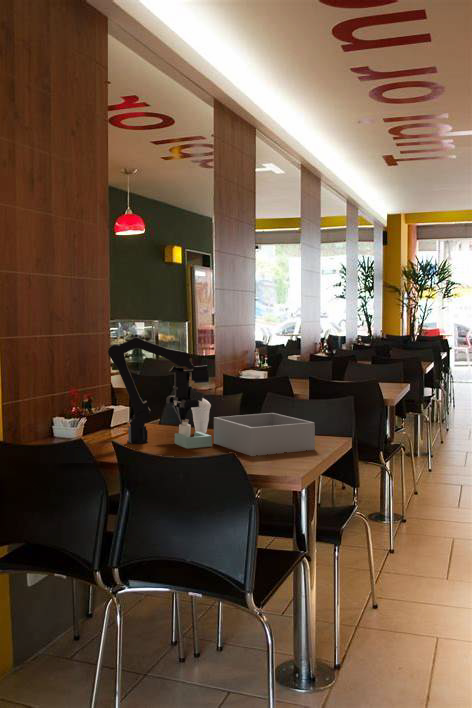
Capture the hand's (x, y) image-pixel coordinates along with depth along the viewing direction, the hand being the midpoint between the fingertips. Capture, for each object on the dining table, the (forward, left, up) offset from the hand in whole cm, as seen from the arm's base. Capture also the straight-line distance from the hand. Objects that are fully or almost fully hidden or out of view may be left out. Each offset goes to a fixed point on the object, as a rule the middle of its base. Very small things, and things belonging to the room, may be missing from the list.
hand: (182, 423), depth 282 cm
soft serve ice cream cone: (+14, +14, -7) cm, 22 cm away
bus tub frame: (+21, -26, -7) cm, 34 cm away
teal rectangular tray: (0, -10, -7) cm, 12 cm away
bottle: (0, -2, -7) cm, 7 cm away
